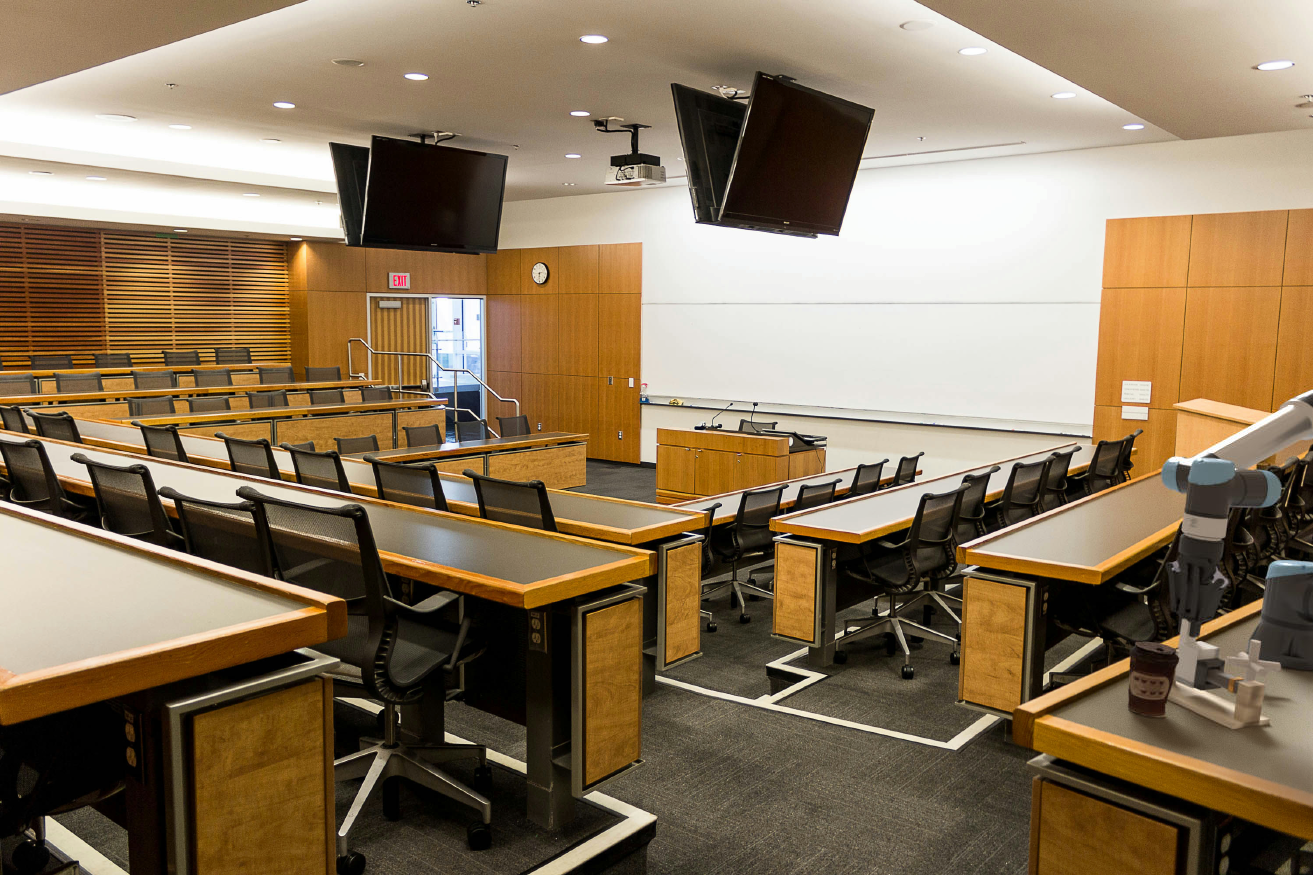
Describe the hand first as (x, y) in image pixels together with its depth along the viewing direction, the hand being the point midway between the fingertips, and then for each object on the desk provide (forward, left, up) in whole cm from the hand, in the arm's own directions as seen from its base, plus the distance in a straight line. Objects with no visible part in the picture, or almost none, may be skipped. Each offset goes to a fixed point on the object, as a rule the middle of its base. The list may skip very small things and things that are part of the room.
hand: (1185, 650), depth 186 cm
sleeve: (0, +3, -6) cm, 6 cm away
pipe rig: (0, +5, -9) cm, 11 cm away
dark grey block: (0, +6, -6) cm, 8 cm away
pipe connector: (-20, 0, -9) cm, 22 cm away
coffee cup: (+15, +5, -10) cm, 18 cm away
